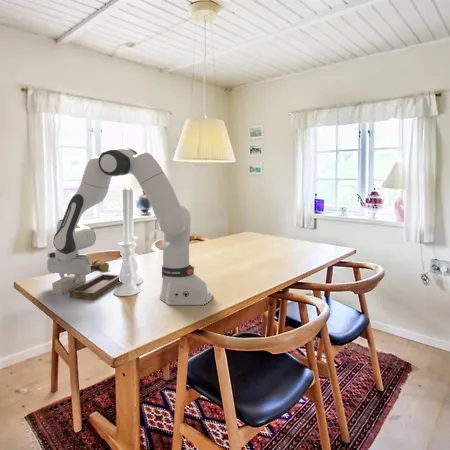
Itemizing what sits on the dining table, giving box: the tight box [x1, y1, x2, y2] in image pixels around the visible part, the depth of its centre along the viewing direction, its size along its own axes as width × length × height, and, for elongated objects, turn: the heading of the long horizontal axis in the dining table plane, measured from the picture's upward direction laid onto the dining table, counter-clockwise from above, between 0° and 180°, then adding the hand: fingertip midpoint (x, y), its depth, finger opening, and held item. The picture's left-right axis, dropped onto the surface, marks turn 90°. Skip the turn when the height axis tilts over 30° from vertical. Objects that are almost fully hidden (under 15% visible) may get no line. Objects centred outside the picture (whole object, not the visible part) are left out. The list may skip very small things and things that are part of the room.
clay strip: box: [52, 274, 87, 295], centre depth 165 cm, size 4×20×5 cm, turn 171°
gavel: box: [66, 259, 110, 276], centre depth 189 cm, size 21×5×10 cm
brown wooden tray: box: [68, 273, 120, 301], centre depth 162 cm, size 11×26×3 cm, turn 169°
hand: (70, 282), depth 165 cm, fingers open, 4 cm apart
